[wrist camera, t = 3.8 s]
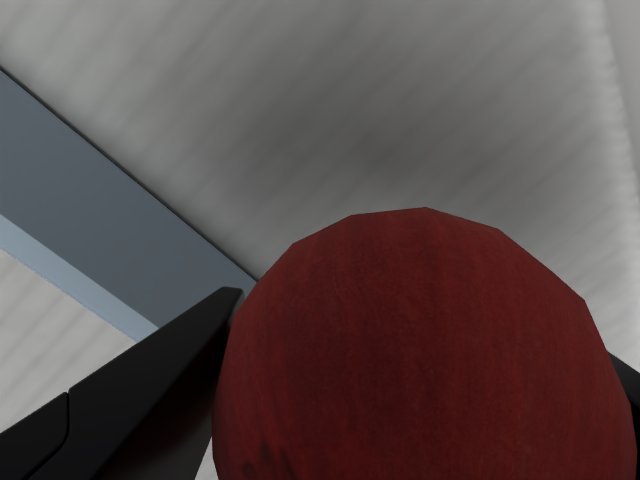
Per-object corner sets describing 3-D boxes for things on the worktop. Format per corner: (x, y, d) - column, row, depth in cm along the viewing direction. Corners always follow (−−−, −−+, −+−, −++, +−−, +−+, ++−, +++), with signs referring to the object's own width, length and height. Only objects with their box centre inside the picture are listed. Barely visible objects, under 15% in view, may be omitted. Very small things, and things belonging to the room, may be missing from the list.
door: (310, 327, 22) (295, 435, 16) (295, 338, 22) (274, 448, 17) (-24, 50, 17) (-218, 72, 11) (-36, 73, 17) (-228, 105, 11)
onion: (344, 386, 12) (325, 926, 5) (216, 229, 10) (-140, 785, 3) (553, 306, 10) (1003, 986, 3) (453, 91, 8) (1179, 710, 1)
